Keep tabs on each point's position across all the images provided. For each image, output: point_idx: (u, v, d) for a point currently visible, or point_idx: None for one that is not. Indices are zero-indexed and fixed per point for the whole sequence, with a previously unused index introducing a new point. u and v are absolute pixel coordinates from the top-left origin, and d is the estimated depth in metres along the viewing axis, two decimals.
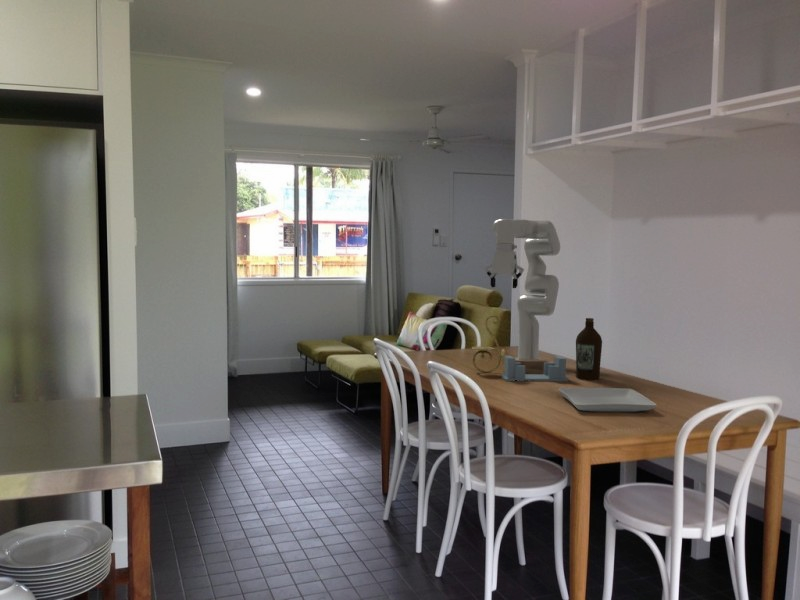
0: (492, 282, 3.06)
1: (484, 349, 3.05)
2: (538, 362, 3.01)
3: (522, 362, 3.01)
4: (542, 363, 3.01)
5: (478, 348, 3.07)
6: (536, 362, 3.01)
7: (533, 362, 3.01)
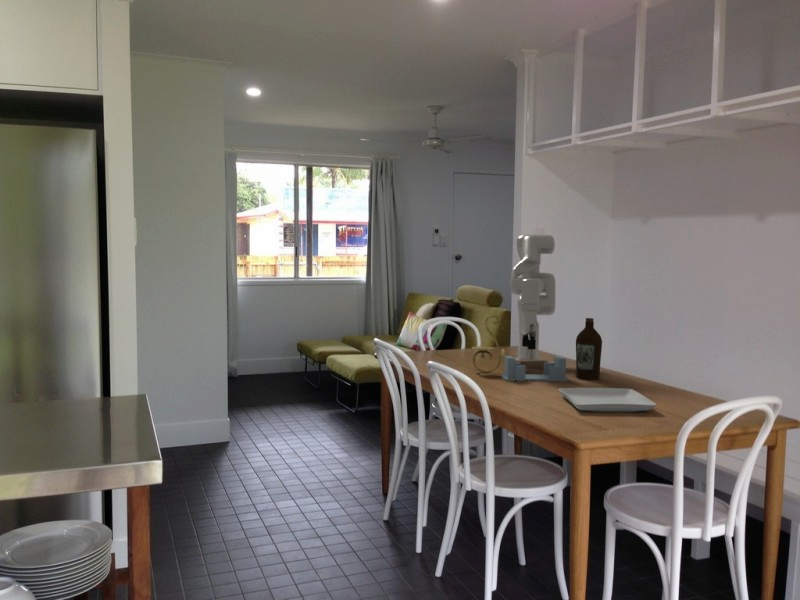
0: None
1: (484, 349, 3.05)
2: (538, 362, 3.02)
3: (523, 362, 3.00)
4: (542, 363, 3.02)
5: (478, 348, 3.07)
6: (536, 362, 3.01)
7: (533, 362, 3.01)
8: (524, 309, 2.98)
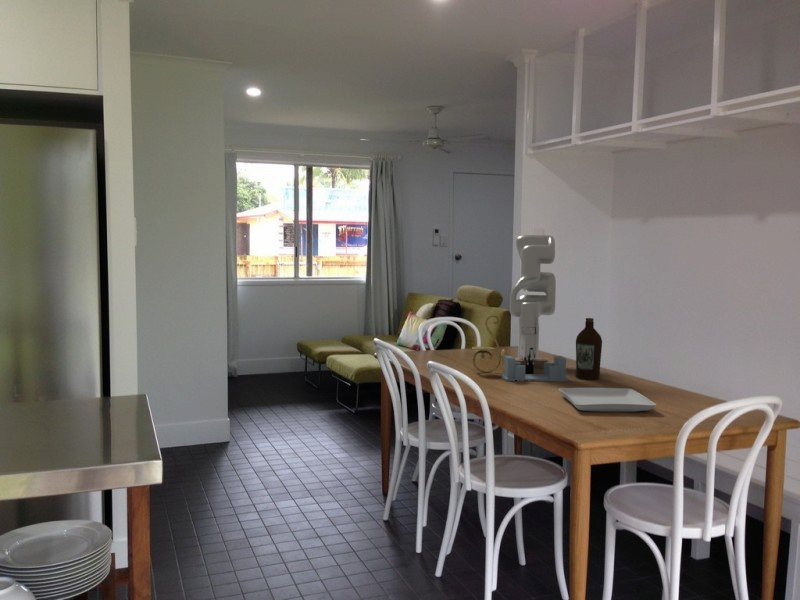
0: None
1: (484, 349, 3.05)
2: (538, 361, 3.02)
3: (523, 362, 3.00)
4: (542, 362, 3.02)
5: (478, 348, 3.07)
6: (536, 361, 3.01)
7: (534, 361, 3.01)
8: (523, 332, 2.99)
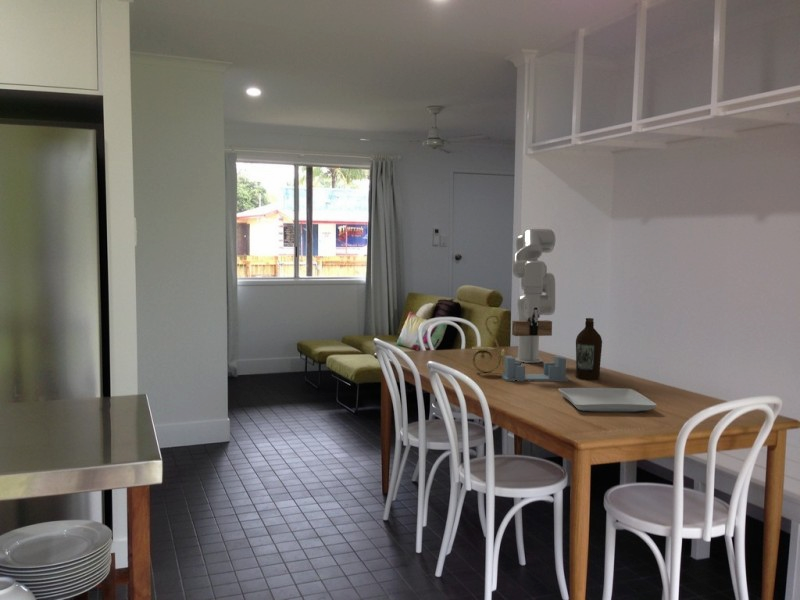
0: None
1: (484, 349, 3.05)
2: (542, 322, 2.95)
3: (527, 322, 2.94)
4: (546, 323, 2.95)
5: (478, 348, 3.07)
6: (540, 322, 2.95)
7: (538, 322, 2.94)
8: (527, 292, 2.93)
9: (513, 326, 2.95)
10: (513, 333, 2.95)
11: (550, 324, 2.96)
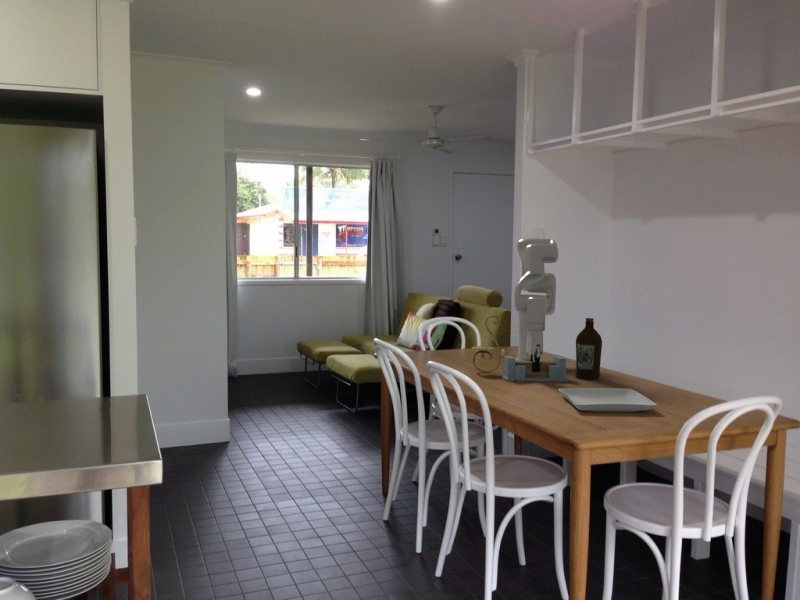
0: (539, 366, 2.90)
1: (484, 349, 3.05)
2: (545, 364, 2.90)
3: (528, 364, 2.90)
4: (549, 365, 2.90)
5: (478, 348, 3.07)
6: (543, 364, 2.90)
7: (540, 364, 2.90)
8: (530, 328, 2.88)
9: None
10: None
11: None
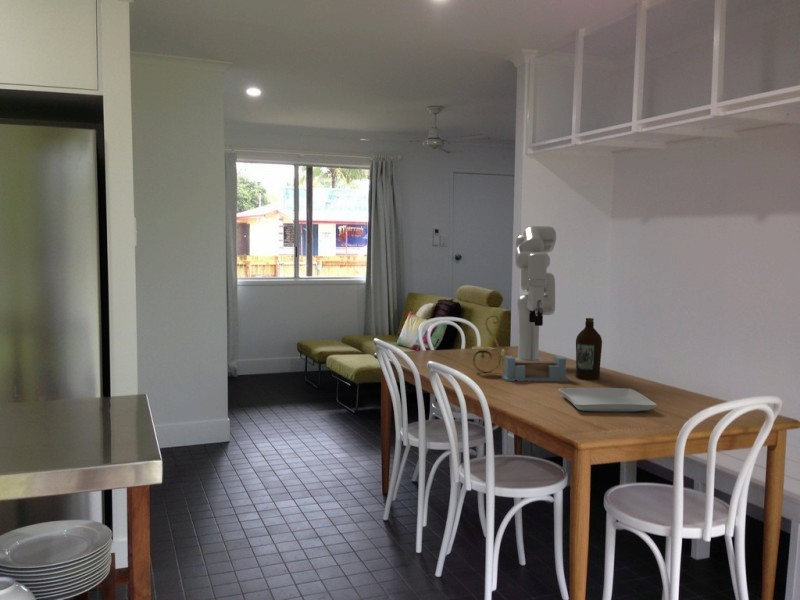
0: None
1: (484, 349, 3.05)
2: (545, 364, 2.90)
3: (528, 364, 2.90)
4: (549, 365, 2.90)
5: (478, 348, 3.07)
6: (543, 364, 2.90)
7: (540, 364, 2.90)
8: (531, 284, 2.91)
9: None
10: None
11: None
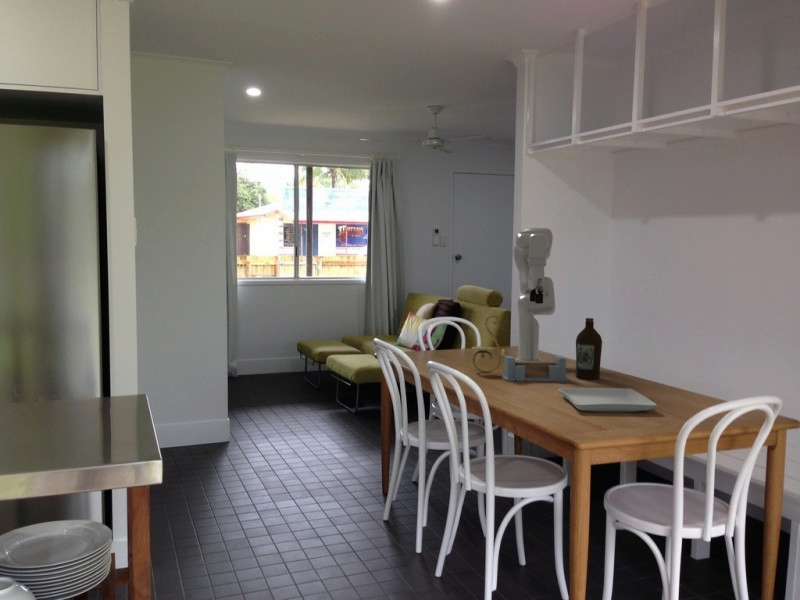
0: (542, 298, 3.01)
1: (484, 349, 3.05)
2: (545, 364, 2.90)
3: (528, 364, 2.90)
4: (549, 365, 2.90)
5: (478, 348, 3.07)
6: (543, 364, 2.90)
7: (540, 364, 2.90)
8: (532, 264, 3.02)
9: None
10: None
11: None
